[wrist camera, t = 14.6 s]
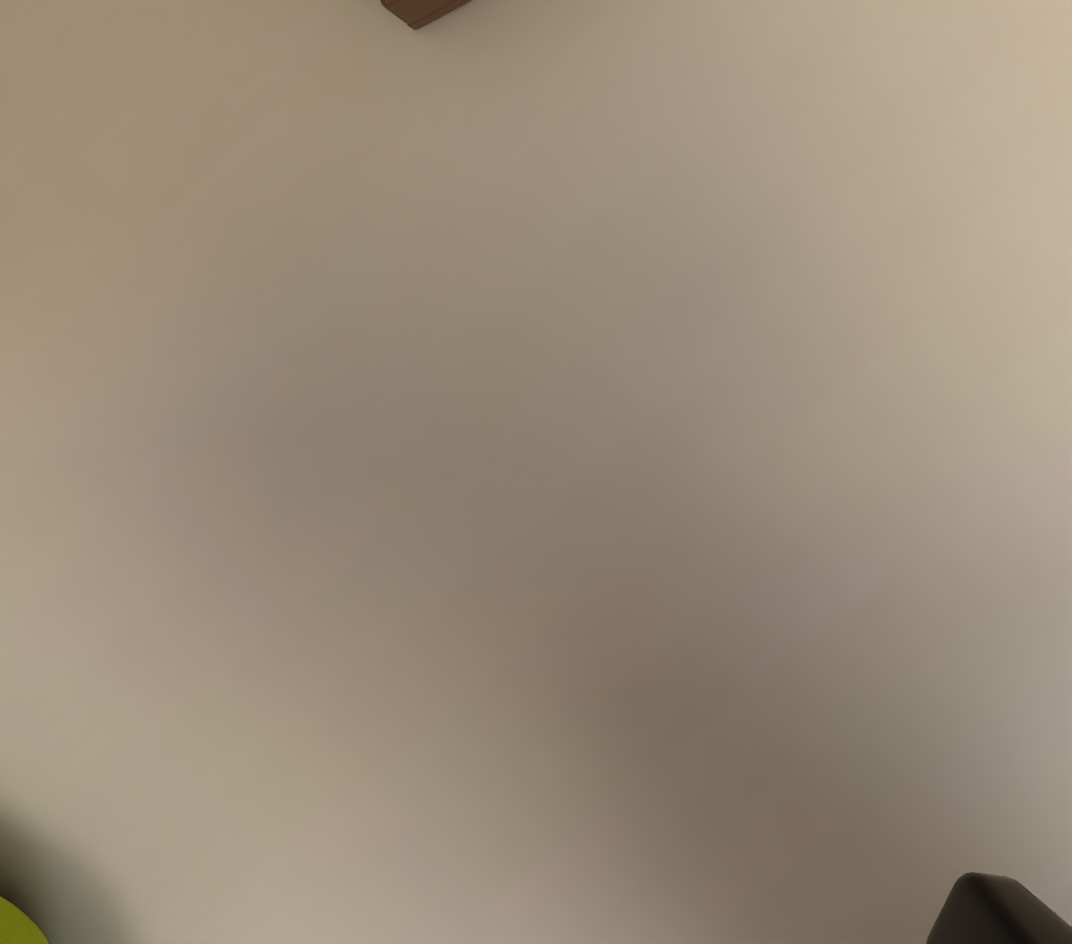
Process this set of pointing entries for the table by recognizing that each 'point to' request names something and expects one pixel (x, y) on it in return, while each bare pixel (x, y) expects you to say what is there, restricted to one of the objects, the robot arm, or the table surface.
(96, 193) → the table surface
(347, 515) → the table surface
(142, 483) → the table surface
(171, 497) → the table surface
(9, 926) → the tennis ball
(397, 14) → the tray
